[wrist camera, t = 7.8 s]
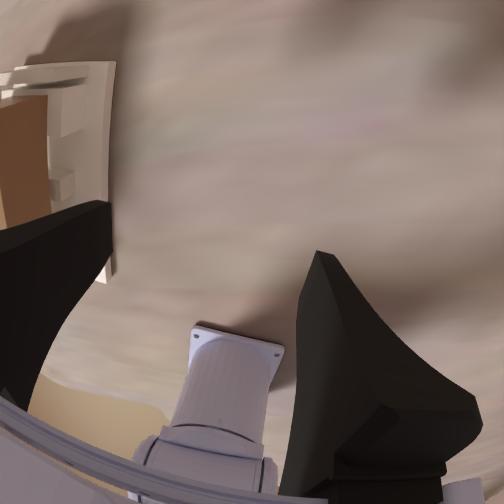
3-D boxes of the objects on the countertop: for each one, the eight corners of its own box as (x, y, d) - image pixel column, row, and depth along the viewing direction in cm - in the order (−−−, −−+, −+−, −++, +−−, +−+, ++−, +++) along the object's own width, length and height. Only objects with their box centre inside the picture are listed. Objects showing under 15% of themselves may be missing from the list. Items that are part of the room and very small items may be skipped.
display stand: (111, 276, 25) (86, 311, 22) (34, 252, 25) (6, 279, 22) (116, 61, 16) (74, 63, 12) (23, 65, 16) (-20, 74, 12)
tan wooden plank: (60, 272, 21) (28, 309, 18) (26, 260, 21) (-7, 292, 18) (47, 94, 14) (-6, 110, 11) (9, 96, 14) (-41, 112, 11)
